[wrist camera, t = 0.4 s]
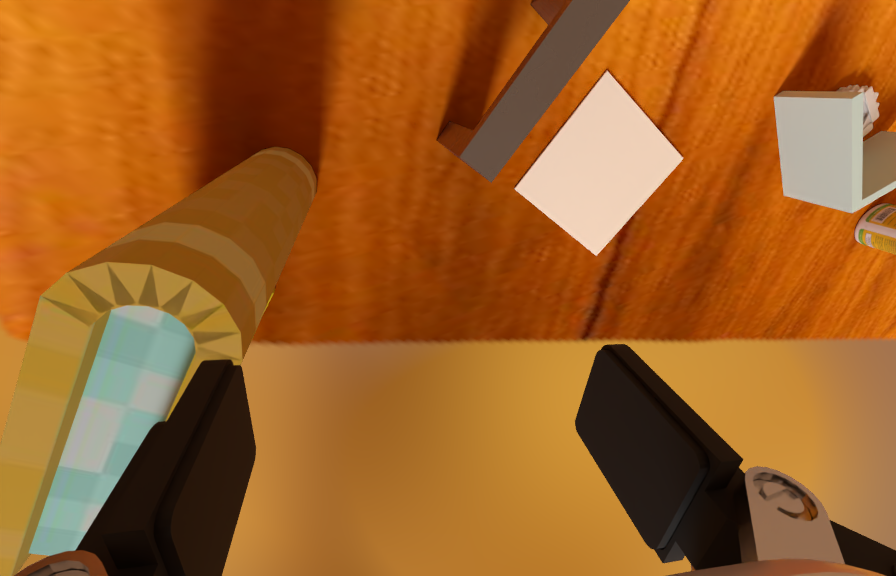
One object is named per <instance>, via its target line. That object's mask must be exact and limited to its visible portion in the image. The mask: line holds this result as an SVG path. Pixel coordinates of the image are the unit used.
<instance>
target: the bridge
mask: <svg viewBox="0 0 896 576" xmlns="http://www.w3.org/2000/svg"><path fill="white" fill-rule="evenodd" d="M629 1H630V0H533V2H532V3H531V4H530V5H531V6H532V7H533V8H534V9H535V10H536V11H537V12H538V14H539V15H540V16H541V17H542V18H543V19H544V20H545V21H546V23H547V24H548V26H547V28H546V29H545V31H544V32H543V33H542V35H541V36H540V38H539V39H538V40H537V42H536V43H535V45H534V46H533V47H532V49H531V50H530V52H529V53H528V54H527V56H526V57H525V59H524V60H523V61H522V63H521V64H520V66H519V67H518V68H517V70H516V71H515V73H514V74H513V75H512V77H511V78H510V80H509V81H508V82H507V84H506V85H505V87H504V88H503V89H502V91H501V92H500V94H499V95H498V96H497V98H496V99H495V100H494V102H493V103H492V105H491V106H490V107H489V109H488V110H487V112H486V113H485V114H484V116H483V117H482V119H481V120H480V121H479V123H478V124H477V126H476V127H475V128H474V130H471V129H468V128H466V127H463V126H461V125H458V124H456V123H454V122H451V121H449V123H448V124H447V126H446V127H445V129H444V130H443V131H442V133H441V134H440V136H439V137H438V139H437V141H438V142H439V143H441V144H442V145H443V146H444V147H446V148H447V149H448V150H449V151H451V152H452V153H453V154H454V155H456V156H457V157H458V158H460V159H461V160H462V161H463V162H465V163H466V164H467V165H469V166H470V167H471V168H473V169H474V170H475V171H477V172H478V173H479V174H481V175H482V176H483V177H485V178H486V179H487V180H489V181H490V182H492V181H493V180H494V178H495V177H496V176H497V174H498V173H499V172H500V170H501V169H502V168H503V167H504V165H505V164H506V163H507V161H508V160H509V159H510V157H511V156H512V155H513V153H514V152H515V151H516V149H517V148H518V147H519V145H520V144H521V143H522V142H523V140H524V139H525V138H526V136H527V135H528V134H529V132H530V131H531V130H532V128H533V127H534V126H535V124H536V123H537V122H538V120H539V119H540V118H541V117H542V115H543V114H544V113H545V111H546V110H547V109H548V107H549V106H550V105H551V103H552V102H553V101H554V99H555V98H556V97H557V95H558V94H559V93H560V92H561V90H562V89H563V88H564V86H565V85H566V84H567V82H568V81H569V80H570V78H571V77H572V76H573V74H574V73H575V72H576V70H577V69H578V68H579V67H580V65H581V64H582V63H583V61H584V60H585V59H586V57H587V56H588V55H589V53H590V52H591V51H592V49H593V48H594V47H595V46H596V44H597V43H598V42H599V40H600V39H601V38H602V36H603V35H604V34H605V32H606V31H607V30H608V28H609V27H610V26H611V24H612V23H613V22H614V21H615V19H616V18H617V17H618V15H619V14H620V13H621V11H622V10H623V9H624V7H625V6H626V5H627V3H628V2H629Z"/></svg>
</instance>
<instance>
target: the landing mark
mask: <svg viewBox="0 0 896 576" xmlns="http://www.w3.org/2000/svg"><path fill="white" fill-rule="evenodd" d="M682 160H683V157H682V156H681V155H680V154H679V153H678V152H677V150H676V149H675V148H674V147H673V146H672V145H671V144H670V142H669V141H668V140H667V139H666V138H665V137H664V135H663V134H662V133H661V132H660V131H659V130H658V129H657V127H656V126H655V125H654V124H653V123H652V122H651V120H650V119H649V118H648V117H647V116H646V115H645V114H644V112H643V111H642V110H641V109H640V108H639V107H638V105H637V104H636V103H635V102H634V101H633V100H632V99H631V97H630V96H629V95H628V94H627V93H626V92H625V90H624V89H623V88H622V87H621V86H620V85H619V84H618V82H617V81H616V80H615V79H614V78H613V77H612V75H611V74H610V73H609V72H608V71H606V72H605V73H604V74H603V75H602V77H601V78H600V79H599V80H598V82H597V83H596V84H595V86H594V87H593V88H592V89H591V91H590V92H589V93H588V95H587V96H586V97H585V98H584V100H583V101H582V102H581V104H580V105H579V106H578V107H577V109H576V110H575V111H574V112H573V114H572V115H571V116H570V118H569V119H568V120H567V121H566V123H565V124H564V125H563V127H562V128H561V129H560V130H559V132H558V133H557V134H556V135H555V137H554V138H553V139H552V141H551V142H550V143H549V144H548V146H547V147H546V148H545V150H544V151H543V152H542V153H541V155H540V156H539V157H538V158H537V160H536V161H535V162H534V164H533V165H532V166H531V167H530V169H529V170H528V171H527V173H526V174H525V175H524V176H523V178H522V179H521V180H520V181H519V183H518V184H517V185H516V187H515V188H514V189H515V190H516V191H518V192H519V193H520V194H521V195H522V196H524V197H525V198H526V199H527V200H529V201H530V202H531V203H532V204H533V205H535V206H536V207H537V208H538V209H540V210H541V211H542V212H543V213H544V214H546V215H547V216H548V217H549V218H551V219H552V220H553V221H554V222H555V223H557V224H558V225H559V226H560V227H562V228H563V229H564V230H565V231H566V232H568V233H569V234H570V235H571V236H573V237H574V238H575V239H576V240H577V241H579V242H580V243H581V244H582V245H584V246H585V247H586V248H587V249H588V250H590V251H591V252H592V253H593V254H595V255H596V256H597V254H598V253H599V252H600V251H601V250H602V249H603V248H604V247H605V246H606V244H607V243H608V242H609V241H610V240H611V239H612V238H613V237H614V236H615V234H616V233H617V232H618V231H619V230H620V229H621V228H622V227H623V225H624V224H625V223H626V222H627V221H628V220H629V219H630V218H631V217H632V215H633V214H634V213H635V212H636V211H637V210H638V209H639V208H640V207H641V205H642V204H643V203H644V202H645V201H646V200H647V199H648V198H649V196H650V195H651V194H652V193H653V192H654V191H655V190H656V189H657V188H658V186H659V185H660V184H661V183H662V182H663V181H664V180H665V179H666V178H667V176H668V175H669V174H670V173H671V172H672V171H673V170H674V169H675V168H676V166H677V165H678V164H679V163H680V162H681V161H682Z"/></svg>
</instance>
